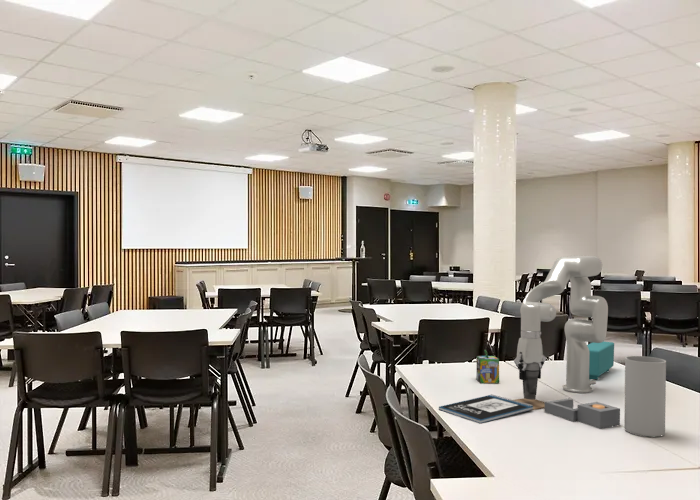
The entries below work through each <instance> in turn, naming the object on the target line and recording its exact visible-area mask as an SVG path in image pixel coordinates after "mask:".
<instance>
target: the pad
mask: <svg viewBox="0 0 700 500" xmlns="http://www.w3.org/2000/svg"><path fill="white" fill-rule="evenodd" d="M511 400H512V401H513V400H515V401H519V402H518V403H520V402H522V403H526V405H527V404H529V405H533V409H532V410H529V411H536V410H542V409H543V410H545V402H546V401H544V400H543V401H542V400H540V399H534V400H530V399H525V398H524V397H523V398H516V399H511ZM529 411H528V412H529Z"/></svg>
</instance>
